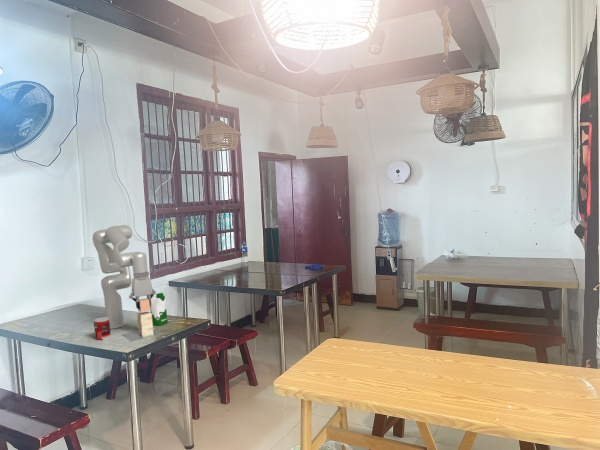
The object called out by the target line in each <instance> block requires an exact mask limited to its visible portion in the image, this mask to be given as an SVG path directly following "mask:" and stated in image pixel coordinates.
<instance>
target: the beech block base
mask: <svg viewBox="0 0 600 450" xmlns="http://www.w3.org/2000/svg"><path fill="white" fill-rule="evenodd" d="M137 326H138V329H137V330H139V335H140V336H142V337H145V336H149V335H153V330H154V326H153V324H150V325H145V326H140V325H138V324H137Z"/></svg>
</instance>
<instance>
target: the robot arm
mask: <svg viewBox="0 0 600 450" xmlns="http://www.w3.org/2000/svg"><path fill="white" fill-rule="evenodd" d="M132 236H133V230H132V228H131V227H130V226H129V225H127V224H126V225H125V224H123V225H113V226H110V227H108V228H107V229H98V230H96V231H94V232H93V234H92V243H93V246H94V247H95V249H96V252H97V255H98V261H99V265H100V269H101V272H102V274H106V276H104V277H103V278H102V279H101V281H100V285H101V289H102V294H103V299H104V300H103V301H104V308H105V309H104V310H105V317H108V318H109V323H110V330H114V329H119V328H122V327H125V326H126V325H127V322H126V321H124V313H123V303H122V296H121V294H120V293H119V292H118V291H119V290H125V289H128V288H130V287H131V293H130V294H129V296H128V298H129V299H131V300H132V301H134V302H135V307H136V309H137V310H138V309H140V302H139V300H140V297H144V296H146V299H149V303H150V305H151V298H152V297H154V296H156V294H157V291H155V289H153V285H152V281H151V277H150V276H149V275H151V271H149V270H148V262H147V261H148V259H147V254H146V253H145V252H140V251H133V252H132V251H131V252H125V253H122V252H124V251H125V250H126V249H127V248H129V245H130V241H129V239H131V238H132ZM109 244H111V245H112V246H113V248H111V246H110V245H109ZM130 267H132V272H133V278H132V275H131V270H130ZM113 273H115V274H113ZM116 273H117V274H116ZM107 274H111V275H107ZM150 307H151V306H150Z"/></svg>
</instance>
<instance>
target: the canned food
mask: <svg viewBox="0 0 600 450" xmlns="http://www.w3.org/2000/svg"><path fill="white" fill-rule="evenodd" d="M93 327H94V337H95V340H97V341H103V340H104V339H103V338H106V337H109V336H111V329H110V323H109V318H108V317H106V316H104V317H98V318H97V317H96V318H94V320H93Z"/></svg>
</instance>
